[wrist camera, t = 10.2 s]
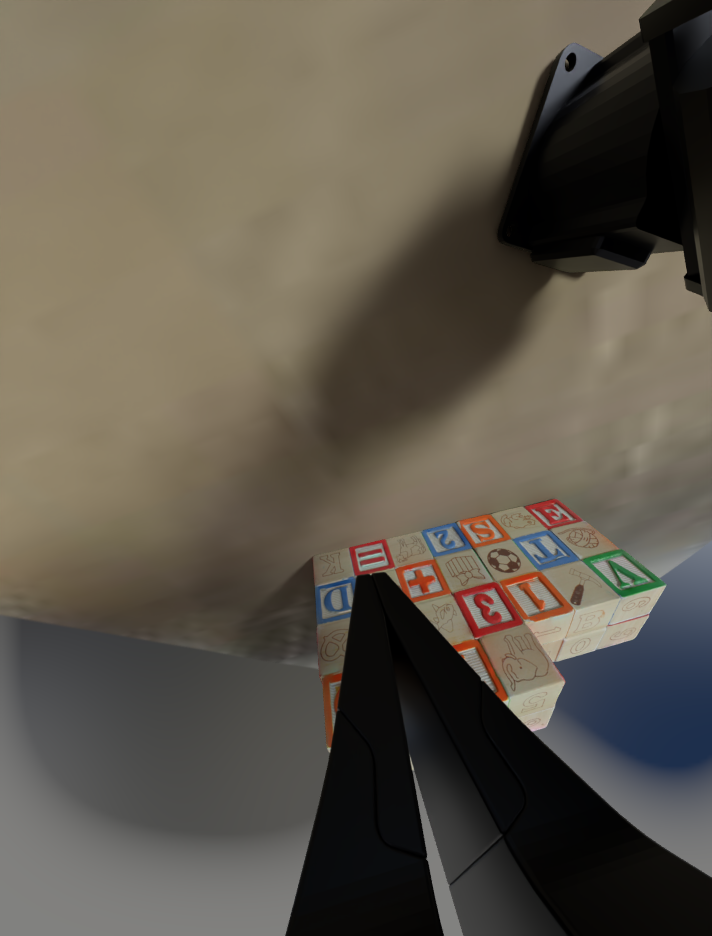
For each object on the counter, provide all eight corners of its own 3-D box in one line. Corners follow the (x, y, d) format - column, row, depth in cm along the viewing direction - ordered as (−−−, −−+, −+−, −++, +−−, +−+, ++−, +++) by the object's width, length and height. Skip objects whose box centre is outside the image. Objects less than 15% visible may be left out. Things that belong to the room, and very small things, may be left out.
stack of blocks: (556, 494, 26) (733, 633, 16) (543, 546, 29) (682, 688, 19) (310, 555, 24) (324, 755, 14) (325, 602, 28) (347, 792, 17)
